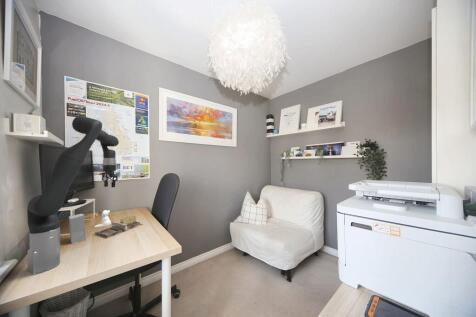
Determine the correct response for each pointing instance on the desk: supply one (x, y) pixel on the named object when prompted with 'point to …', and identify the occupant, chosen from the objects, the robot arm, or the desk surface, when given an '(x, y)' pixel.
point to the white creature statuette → (104, 219)
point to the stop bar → (128, 220)
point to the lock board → (115, 230)
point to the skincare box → (77, 228)
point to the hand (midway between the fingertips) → (109, 187)
